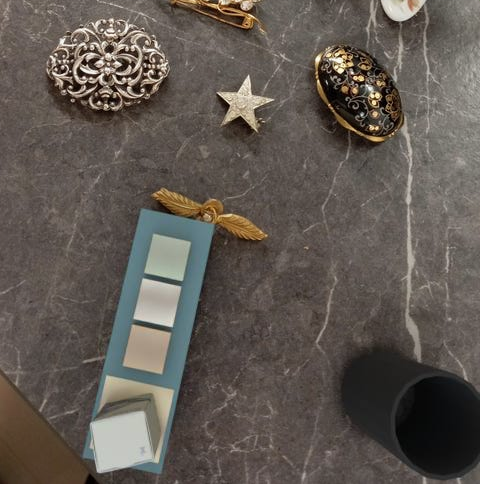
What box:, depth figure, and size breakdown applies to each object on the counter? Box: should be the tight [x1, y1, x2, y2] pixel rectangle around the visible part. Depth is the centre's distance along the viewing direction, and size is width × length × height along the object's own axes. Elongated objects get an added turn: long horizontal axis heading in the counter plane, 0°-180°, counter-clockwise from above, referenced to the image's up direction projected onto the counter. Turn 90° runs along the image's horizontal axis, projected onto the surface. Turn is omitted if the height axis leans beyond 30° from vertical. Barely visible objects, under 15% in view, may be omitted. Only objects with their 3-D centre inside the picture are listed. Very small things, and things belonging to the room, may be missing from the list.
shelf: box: [81, 207, 216, 475], centre depth 106 cm, size 25×8×28 cm, turn 168°
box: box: [89, 393, 161, 474], centre depth 84 cm, size 5×4×13 cm
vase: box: [340, 350, 480, 482], centre depth 104 cm, size 10×10×30 cm
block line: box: [89, 233, 191, 463], centre depth 90 cm, size 22×7×4 cm, turn 168°
